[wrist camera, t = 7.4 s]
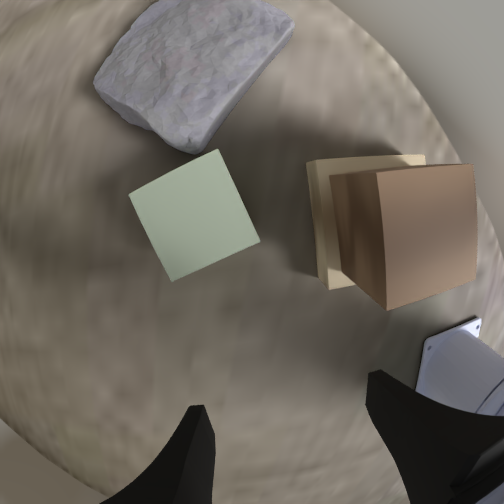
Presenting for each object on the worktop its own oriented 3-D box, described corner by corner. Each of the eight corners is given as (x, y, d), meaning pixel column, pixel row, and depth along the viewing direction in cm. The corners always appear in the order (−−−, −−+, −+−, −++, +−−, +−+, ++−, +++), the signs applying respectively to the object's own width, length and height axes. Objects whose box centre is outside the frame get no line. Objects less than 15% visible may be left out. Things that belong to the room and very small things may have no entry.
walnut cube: (418, 253, 18) (475, 279, 12) (341, 272, 18) (386, 311, 12) (410, 165, 16) (472, 163, 10) (328, 175, 16) (376, 172, 10)
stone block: (106, 111, 18) (206, 170, 18) (70, 90, 14) (183, 152, 13) (195, 3, 17) (301, 43, 17) (179, -32, 12) (306, 2, 12)
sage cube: (253, 226, 19) (260, 241, 14) (186, 258, 19) (171, 281, 15) (222, 157, 18) (217, 148, 13) (154, 191, 18) (128, 194, 13)
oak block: (408, 257, 21) (429, 267, 18) (316, 275, 21) (329, 290, 18) (402, 156, 19) (424, 154, 16) (303, 163, 19) (315, 159, 16)
